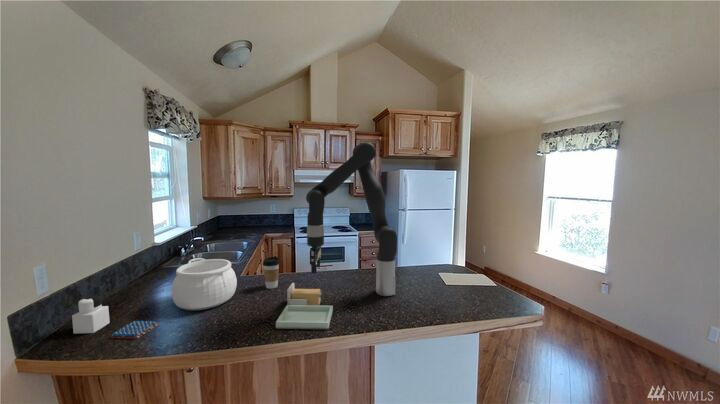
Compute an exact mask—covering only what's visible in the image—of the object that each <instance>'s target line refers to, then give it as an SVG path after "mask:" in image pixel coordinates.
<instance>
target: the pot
mask: <svg viewBox="0 0 720 404" xmlns="http://www.w3.org/2000/svg"><path fill="white" fill-rule="evenodd" d="M237 285H238V280H237V276H236V273H235V271H234V269H233V268H232V262H231V261H230V260H227V259H223V258H211V259H205V258H202V257H195V258H193V259H190V260H189V261H188V262H187V263H185V264H183V265H180V266H179V267H178V268H177V269H176V271H175V278H174V279H173V283H172V284H171V291H170V292H171V298H172V301H173V303H174V304H175V305H176V306H177V307H178V308H180V309H181V310H184V311H185V310H186V311H203V310H207V309H211V308H212V309H213V308H215V307H218V306H221V305H222V304H224V303H226V302H228V301H230V299H231V298H232V297H233V296H234V295H235V292H236V289H237Z"/></svg>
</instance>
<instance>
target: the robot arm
mask: <svg viewBox="0 0 720 404" xmlns="http://www.w3.org/2000/svg"><path fill="white" fill-rule="evenodd" d="M376 154H377V149H376V147H375V146H374V145H373V143H371V142H368V141H367V142H361V143H359V144H357V145H356V146H354V148H353V150H352V155H351V157H349V158H348V159H347V160H346V161H345V162H344V163H343V164H341V165H340V166H338V167H337V168H335V169H334V170H332V172H330V174H328V175H327V176H326V177H325V178H324V179H323V180H322V181H320V183H318V184H317V185H315V186H314V187H313V188H311V189H310V190H309V191H308V192H307V193H306V196H305V199H306V202H307V204H308V213H307V217H306V218H307V227H306V245H307V246H308V247H311V249H310V250H309V265H310V268H311V269H310V270H311V274H317V268H319V267H321V257H322V246H324V245H325V230H324V229H325V227H324V210H325V203H326V202H325V201H326V199H325V198H326V197H327V196H328V195H330V194H332V193H333V192H335V191H336V190H337V189H338V188H339V187H340V186H342V185H343V184H344V182H346V181H347V180H349V178H350V177H351V176H352V175H354V173H355V172H356V171H358V174H359V178H360V182H361V183H360V184H361V185H362V186H361V187H362V190H363V194H364V198H365V202H366V204H367V208H368V211H369V214H370V218H371V222H372V228H373V234H374V238H375V240H376V242H377V243H378V252H377V253H376V273H375V274H376V275H375V276H376V280H375V281H376V284H375V285H376V287H375V288H376V294H377V295H378V296H383V297H390V296H396V255H397V252H398V251H397V250H398V235H397V232H396V230H394V229H393V228H391V227H390V225H389V223H388V220H387V216H386V198H385V193H384V189H383V186H382V185H381V184H382V183H380V181H379V179H378V177H377V176H376V174H375V172H374V169H373V167H372V166H373V164H372V160H374V159H375V157H376Z"/></svg>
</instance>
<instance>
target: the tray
mask: <svg viewBox="0 0 720 404" xmlns="http://www.w3.org/2000/svg"><path fill="white" fill-rule="evenodd" d="M333 312H334V306H333V305H320V304H319V305H288V304H287V305H286V306H285V307H284V308H283V310H282V312H281V313H280V315H279V316H278V318H277V320H276V321H275V329H281V330H282V329H284V330H285V329H289V330H290V329H291V330H292V329H294V330H296V329H297V330H299V329H300V330H329V328H330V324H331V319H332V316H333Z"/></svg>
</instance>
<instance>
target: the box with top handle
mask: <svg viewBox="0 0 720 404" xmlns="http://www.w3.org/2000/svg"><path fill="white" fill-rule="evenodd" d="M322 294H323V292H322V291H321V289H320V288H295V289H294V291H293V292H292V299H307V305H320V304H321V296H322Z"/></svg>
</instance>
